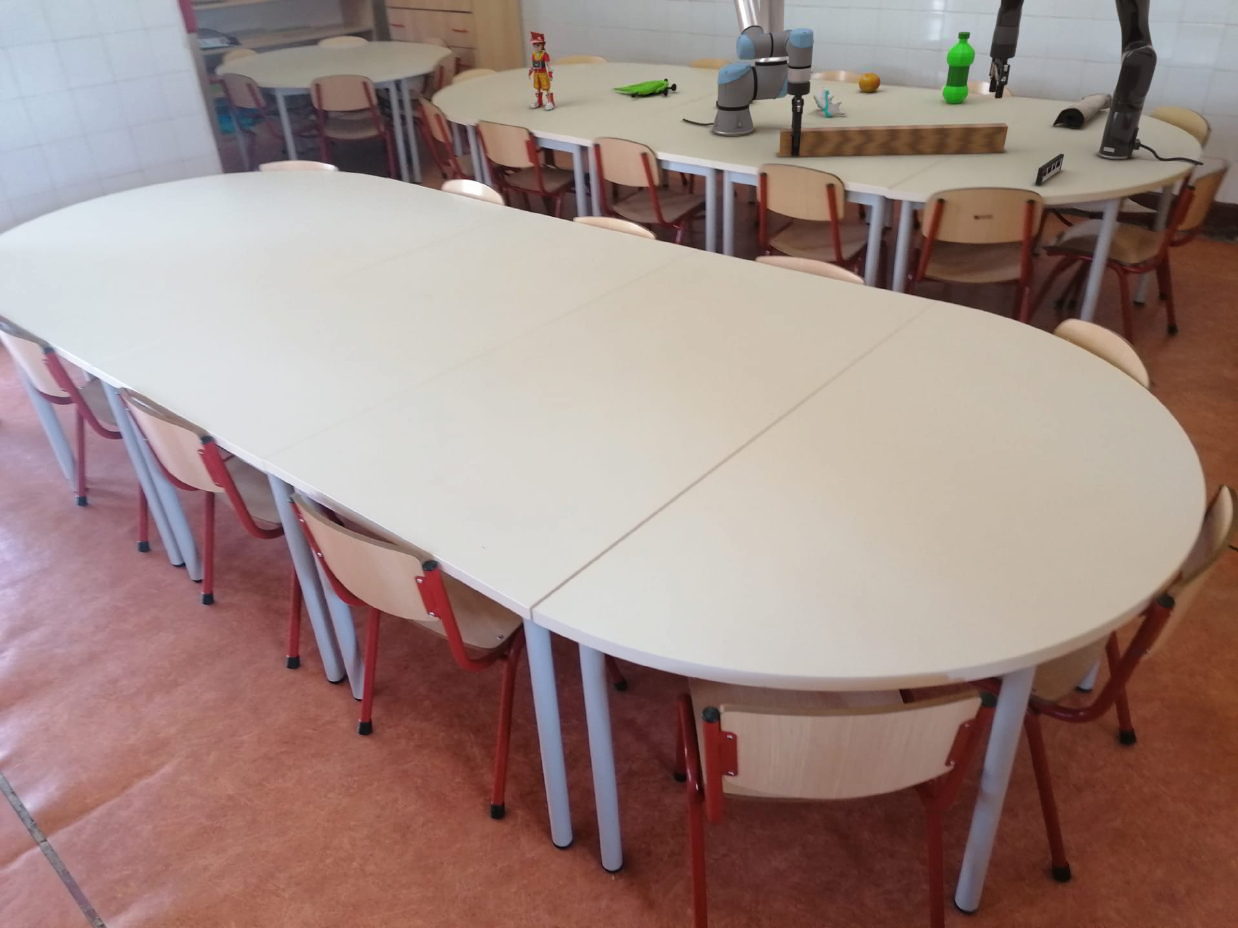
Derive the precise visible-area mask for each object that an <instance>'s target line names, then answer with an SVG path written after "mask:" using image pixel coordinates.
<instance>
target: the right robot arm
mask: <svg viewBox="0 0 1238 928" xmlns="http://www.w3.org/2000/svg"><path fill="white" fill-rule="evenodd" d="M1024 3H1025V0H1000V4H999V8H998V10H997V15H996V19H995V20H996V21H995V27H994V30H993V34H992V40H991V45H990V51H989V57H990V58H991V62H990V68H989V73H988V76H989V80H990V81H989V87H988V92H989V93H994V98H995V99H996V100H997V99H1002V98H1003V96H1004V90H1005V87H1006V86H1007V85H1008V83H1009V76H1010V71H1011V70H1010V69H1011V64H1009V61H1008V60H1009V59H1014V57H1016V52H1017V46H1018V41H1019V38H1020V37H1019V36H1020V25H1021V22H1022V21H1021V20H1022V15H1023V6H1024ZM1114 3H1115V9H1116V14H1117V18H1118V22H1119V26H1120V37H1121V48H1120V49H1121V51H1120V52H1121V53H1120V71H1119V75H1118V79H1117V81H1116V82H1117V83H1116V86H1115V88H1114V90H1113V93H1112V101H1111V105H1110V108H1108V109H1109V110H1108V114H1107V117H1106V121H1105V126H1104V128H1103V129H1104V130H1103V134H1102V137H1101V142H1100V145H1099V150H1098V152H1097V155H1098V156H1099V157H1100V158H1103V159H1108V160H1126V159H1129V160H1131V159H1132V156H1133V152H1134V151H1140V148H1142V149H1145V150H1147V151H1149V152H1150V153H1152V155H1153V156H1154V158H1155V159H1157V160H1158V161H1162V162H1172V161H1184V162H1189V163H1192V164H1195V165H1198V166H1203V165H1204V162H1201V161H1198V160H1195V159H1192V158H1188V157H1181V156H1177V157H1176V156H1175V157H1161V156H1159V154H1158V153H1157V152H1156V150H1155V149H1154V148H1151V147H1149V146H1147V145H1146V144H1143V143H1142V142H1141V140H1140V138H1137V137H1138V134H1139V131H1140V126H1139V124H1140V120H1141V117H1142V113H1143V110H1144V106H1145V103H1146V99H1147V96H1148V93H1149V91H1150V88H1151V84H1152V81H1153V78H1154V75H1155V71H1156V66H1157V63H1158V54H1157V52H1156V50H1155V48H1154V45H1153V42H1152V37H1151V32H1150V24H1149V23H1150V22H1149V21H1150V20H1149V19H1150V18H1149V17H1150V16H1149V15H1150V9H1151V0H1114Z"/></svg>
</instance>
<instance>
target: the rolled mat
mask: <svg viewBox="0 0 1238 928" xmlns="http://www.w3.org/2000/svg"><path fill="white" fill-rule="evenodd" d="M1112 97H1113V95H1112V94H1110V93H1103V92H1100V93H1093V94H1087V95H1085V96H1083V97H1081V100H1079V101H1077V102H1075V103H1073V104H1071V105H1069V106H1067V107H1066V108H1064V109H1062V110H1061V111H1060V112H1059V114H1058V115H1057V117H1056V119H1055V120H1054V121H1053V124H1052V126H1053V127H1055V126H1057V125H1064V126H1066V128H1071V129H1080V128H1082V127H1083V126H1084V125H1085V124H1086V123H1087V122H1088V121H1089V120H1090V119H1091V118H1092V117H1094V116H1095V115H1096V114H1097V113H1098V112H1099V111H1102V110H1107V109H1110V105H1111V101H1112Z"/></svg>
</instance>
